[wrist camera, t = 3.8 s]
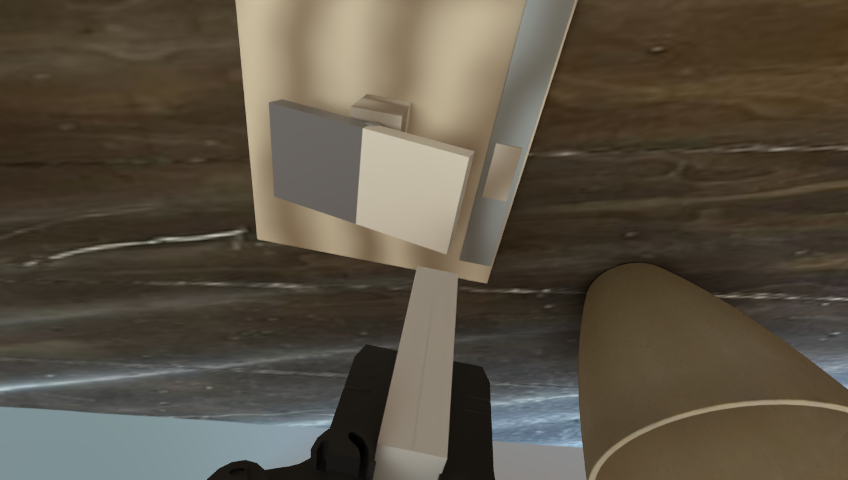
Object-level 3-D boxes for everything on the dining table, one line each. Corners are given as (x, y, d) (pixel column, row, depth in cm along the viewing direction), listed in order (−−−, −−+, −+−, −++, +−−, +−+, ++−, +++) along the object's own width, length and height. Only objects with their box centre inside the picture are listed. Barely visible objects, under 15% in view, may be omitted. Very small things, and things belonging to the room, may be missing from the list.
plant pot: (508, 293, 35) (533, 472, 21) (660, 188, 28) (837, 351, 15) (604, 375, 39) (676, 568, 25) (756, 300, 32) (962, 507, 19)
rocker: (290, 188, 26) (274, 196, 24) (287, 98, 23) (268, 102, 21) (454, 241, 23) (446, 254, 22) (476, 149, 20) (469, 157, 19)
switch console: (268, 227, 34) (232, 266, 29) (219, -458, 16) (99, -682, 11) (486, 269, 34) (488, 315, 29) (684, -372, 16) (788, -556, 11)
